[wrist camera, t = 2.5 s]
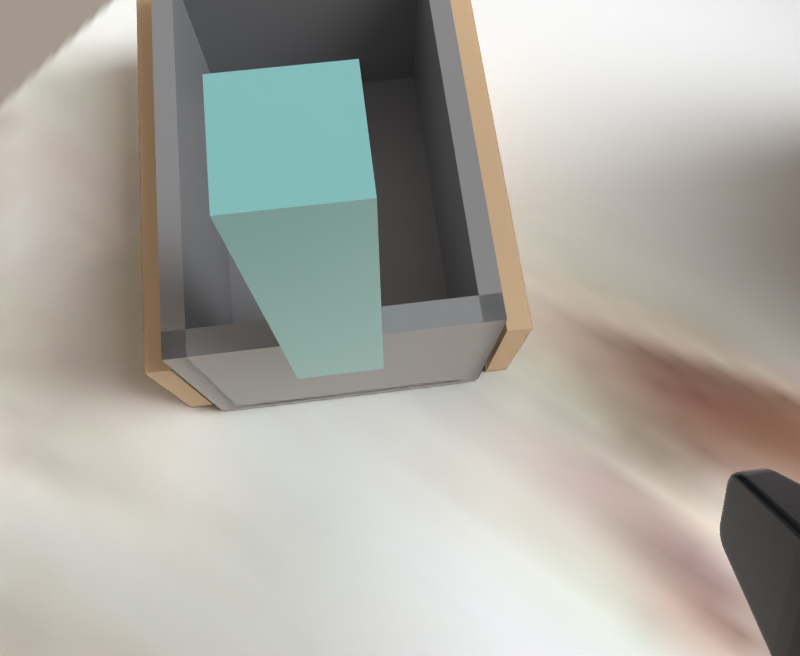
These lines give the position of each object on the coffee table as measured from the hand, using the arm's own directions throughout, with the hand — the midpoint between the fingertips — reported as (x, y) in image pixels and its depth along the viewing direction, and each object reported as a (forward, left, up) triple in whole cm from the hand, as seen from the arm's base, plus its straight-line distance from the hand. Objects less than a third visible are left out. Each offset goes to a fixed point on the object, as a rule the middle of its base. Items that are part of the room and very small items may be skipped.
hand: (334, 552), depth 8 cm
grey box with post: (+8, +6, -12) cm, 15 cm away
